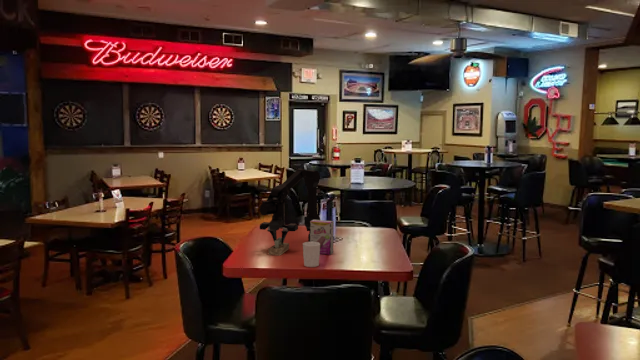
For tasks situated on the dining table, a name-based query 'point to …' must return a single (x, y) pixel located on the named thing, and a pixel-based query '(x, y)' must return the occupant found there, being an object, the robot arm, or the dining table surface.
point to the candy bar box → (322, 235)
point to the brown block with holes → (278, 249)
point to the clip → (278, 242)
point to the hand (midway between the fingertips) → (278, 243)
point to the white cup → (311, 254)
